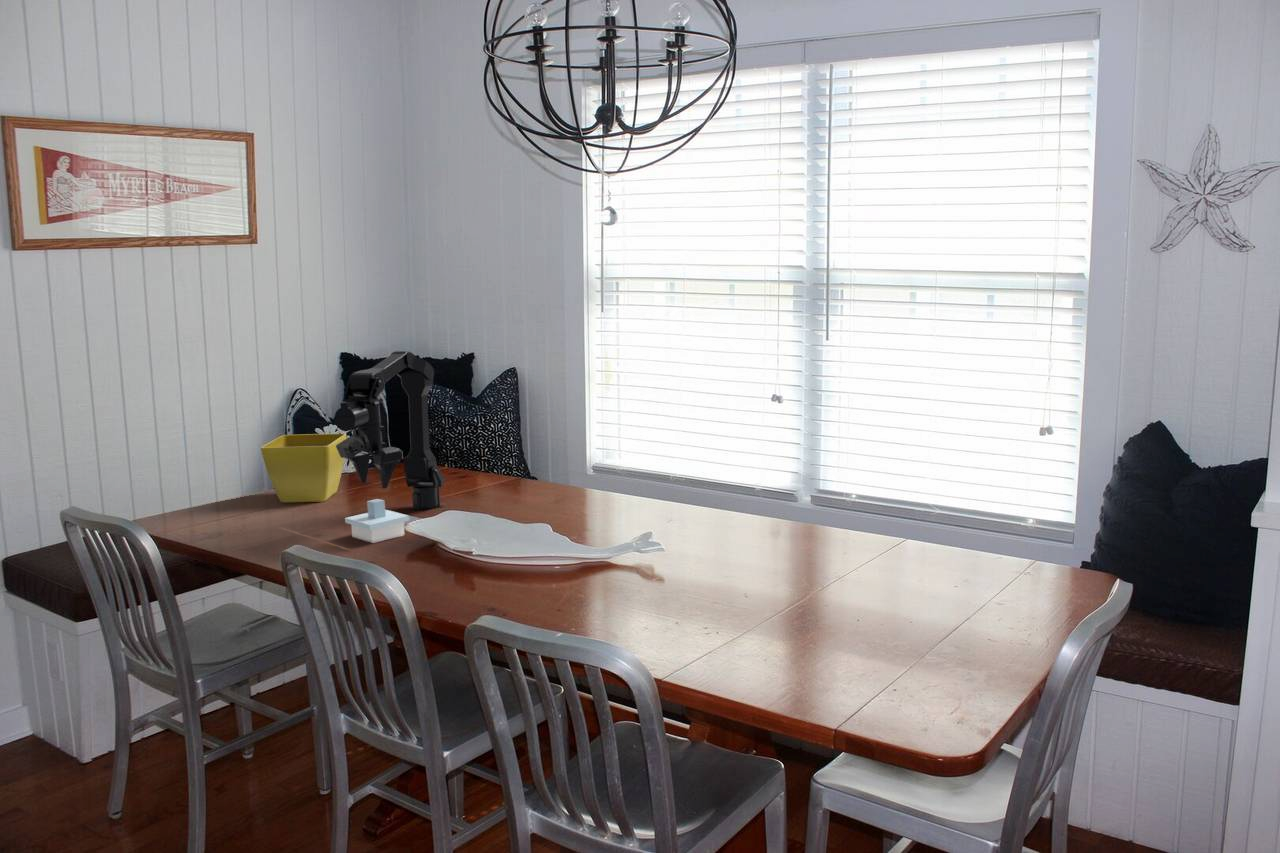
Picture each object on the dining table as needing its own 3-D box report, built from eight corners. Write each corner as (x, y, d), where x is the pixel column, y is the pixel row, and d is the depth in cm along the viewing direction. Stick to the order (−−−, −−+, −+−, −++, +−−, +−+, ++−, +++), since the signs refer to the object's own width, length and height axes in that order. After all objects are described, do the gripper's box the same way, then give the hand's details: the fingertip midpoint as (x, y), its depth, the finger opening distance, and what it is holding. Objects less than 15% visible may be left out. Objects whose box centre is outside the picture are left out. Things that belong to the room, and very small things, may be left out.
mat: (397, 513, 290) (397, 512, 289) (426, 521, 281) (426, 519, 281) (354, 523, 280) (354, 522, 280) (382, 532, 271) (382, 530, 271)
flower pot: (332, 504, 302) (327, 445, 300) (264, 506, 303) (259, 447, 300) (351, 489, 321) (347, 433, 318) (287, 490, 322) (282, 434, 319)
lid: (383, 513, 273) (382, 493, 273) (409, 520, 266) (407, 499, 265) (345, 522, 266) (343, 501, 265) (370, 529, 258) (368, 508, 257)
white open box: (384, 530, 273) (382, 515, 272) (404, 536, 267) (403, 520, 266) (352, 538, 266) (351, 522, 266) (372, 544, 260) (371, 528, 260)
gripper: (318, 424, 266) (324, 487, 269) (361, 432, 254) (367, 498, 256) (358, 417, 274) (363, 478, 277) (401, 425, 262) (406, 488, 264)
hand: (374, 485), depth 269 cm, fingers open, 9 cm apart
